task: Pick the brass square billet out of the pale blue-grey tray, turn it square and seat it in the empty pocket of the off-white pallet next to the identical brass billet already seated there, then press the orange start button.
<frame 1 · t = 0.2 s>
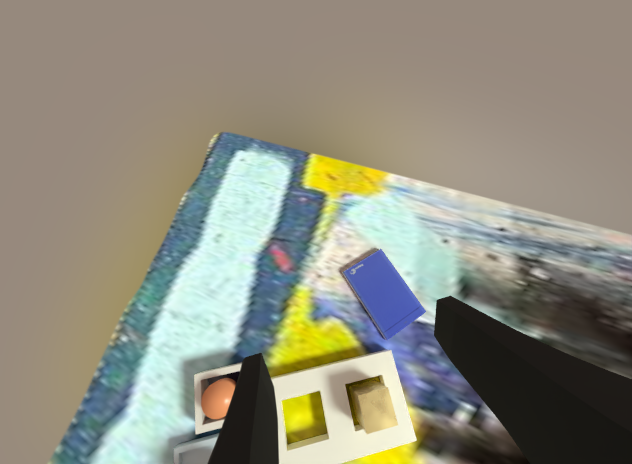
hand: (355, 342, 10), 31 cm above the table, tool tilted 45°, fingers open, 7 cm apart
pallet: (335, 406, 35), on the table
hard drive: (380, 292, 43), on the table
start button: (221, 397, 32), point 3 cm above the table, slide at 0.0 cm
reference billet: (365, 398, 36), resting in pallet
button housing: (227, 391, 35), on the table
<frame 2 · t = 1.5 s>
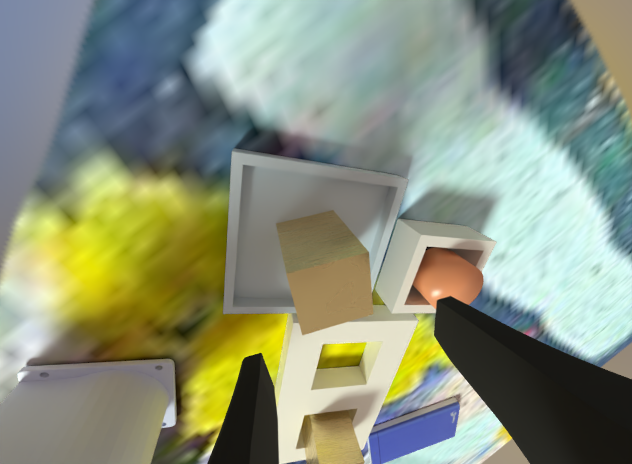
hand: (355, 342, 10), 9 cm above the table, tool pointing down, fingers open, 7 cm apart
billet: (309, 242, 18), resting on tray
pallet: (329, 380, 25), on the table
hard drive: (408, 423, 34), on the table
start button: (444, 278, 19), point 3 cm above the table, slide at 0.0 cm
tray: (308, 239, 18), on the table
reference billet: (321, 408, 27), resting in pallet
button housing: (419, 258, 21), on the table
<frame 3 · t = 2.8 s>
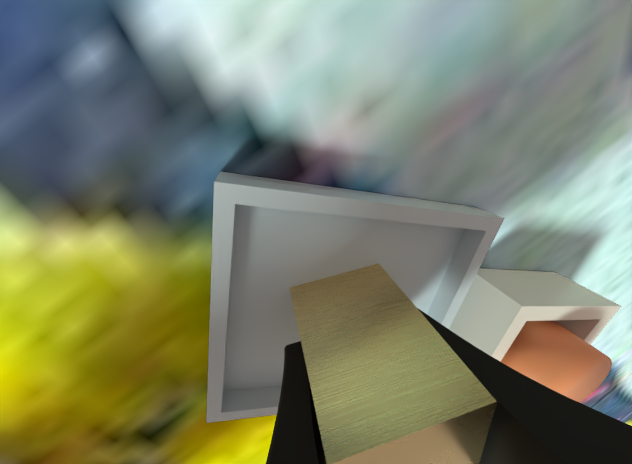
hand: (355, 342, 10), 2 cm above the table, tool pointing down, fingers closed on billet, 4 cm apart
billet: (340, 309, 12), resting on tray, touching gripper
start button: (539, 360, 12), point 3 cm above the table, slide at 0.0 cm
tray: (337, 302, 12), on the table
button housing: (488, 316, 15), on the table
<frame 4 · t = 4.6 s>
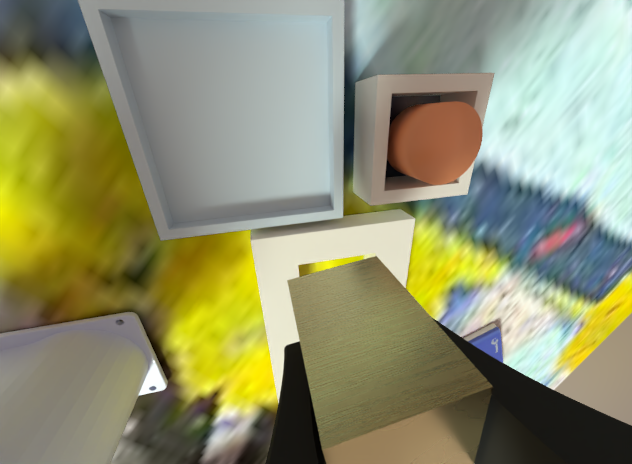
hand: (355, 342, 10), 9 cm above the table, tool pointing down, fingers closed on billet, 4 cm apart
billet: (338, 303, 12), point 7 cm above the table, touching gripper
pallet: (331, 318, 22), on the table
hard drive: (444, 362, 30), on the table
start button: (430, 143, 14), point 3 cm above the table, slide at 0.0 cm
tray: (244, 131, 14), on the table
button housing: (401, 138, 17), on the table
when the fingers open (2 cm above the table, at t = 6.6 s): billet stays where it is, resting in pallet.
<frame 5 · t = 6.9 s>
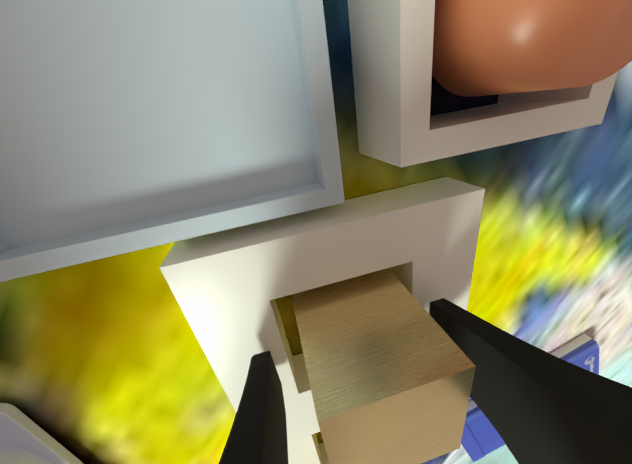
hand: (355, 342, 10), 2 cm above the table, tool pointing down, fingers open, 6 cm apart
billet: (335, 295, 12), resting in pallet
pallet: (346, 361, 14), on the table
hard drive: (511, 389, 22), on the table
tray: (105, 34, 7), on the table
button housing: (444, 32, 8), on the table
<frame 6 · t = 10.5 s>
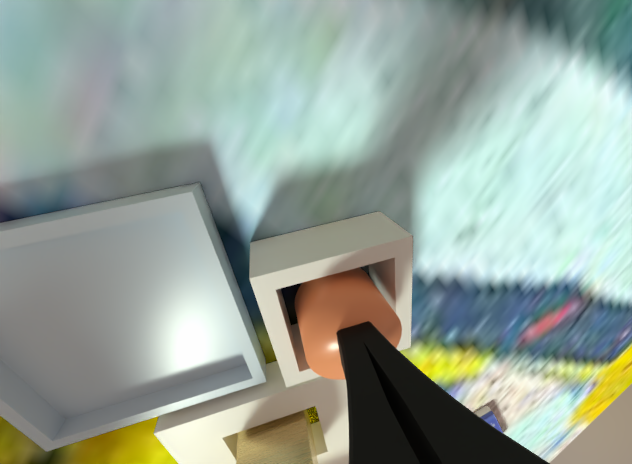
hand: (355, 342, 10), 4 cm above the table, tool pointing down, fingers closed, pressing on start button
billet: (276, 408, 17), resting in pallet
pallet: (290, 444, 20), on the table
start button: (343, 318, 11), point 3 cm above the table, slide at 0.1 cm, touching gripper
tray: (123, 317, 12), on the table
button housing: (326, 279, 14), on the table
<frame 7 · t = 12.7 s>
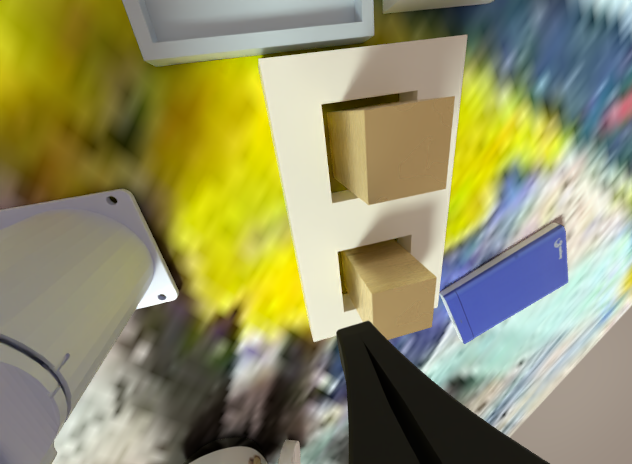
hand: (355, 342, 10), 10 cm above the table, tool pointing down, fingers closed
billet: (359, 141, 16), resting in pallet
spread jar: (246, 448, 28), on the table
pallet: (363, 210, 18), on the table
hard drive: (496, 280, 26), on the table
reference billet: (365, 260, 20), resting in pallet
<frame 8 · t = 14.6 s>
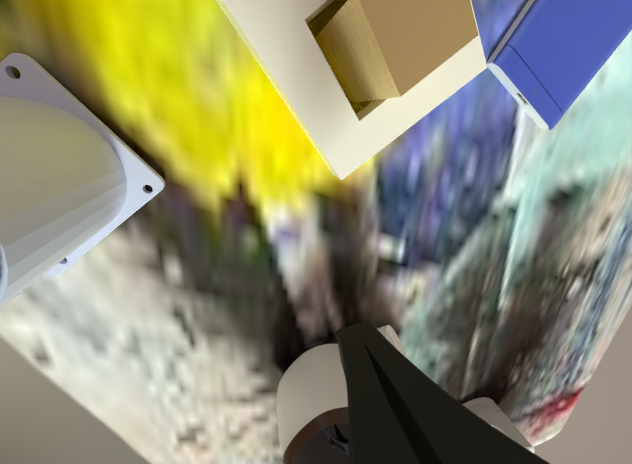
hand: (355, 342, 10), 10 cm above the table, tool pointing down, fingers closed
spread jar: (340, 351, 26), on the table
hard drive: (567, 16, 18), on the table
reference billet: (360, 50, 15), resting in pallet
engine component: (468, 415, 40), on the table
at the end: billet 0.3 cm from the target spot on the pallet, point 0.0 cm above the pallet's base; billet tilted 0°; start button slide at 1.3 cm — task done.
